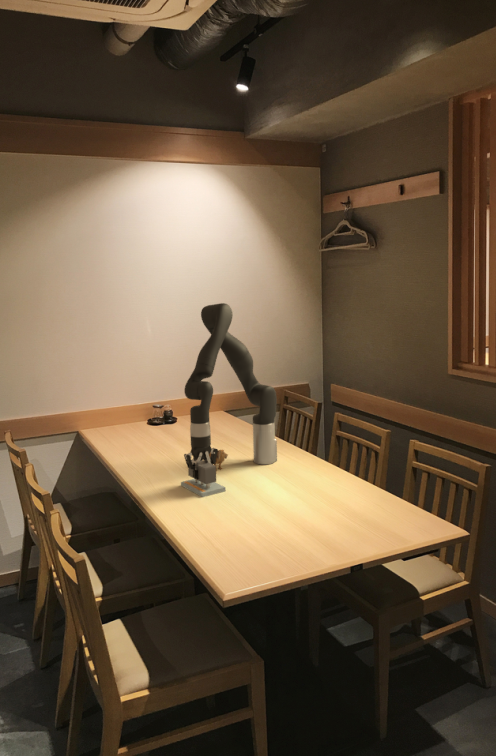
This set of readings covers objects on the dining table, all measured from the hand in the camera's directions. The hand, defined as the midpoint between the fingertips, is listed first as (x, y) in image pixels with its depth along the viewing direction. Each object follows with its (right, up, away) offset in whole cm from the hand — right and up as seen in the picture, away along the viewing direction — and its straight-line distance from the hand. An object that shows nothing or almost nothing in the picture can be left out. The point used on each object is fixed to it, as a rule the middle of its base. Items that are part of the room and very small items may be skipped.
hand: (202, 477), depth 244 cm
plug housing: (0, -1, 0) cm, 1 cm away
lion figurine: (+4, 0, +25) cm, 26 cm away
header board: (0, -4, +1) cm, 4 cm away
